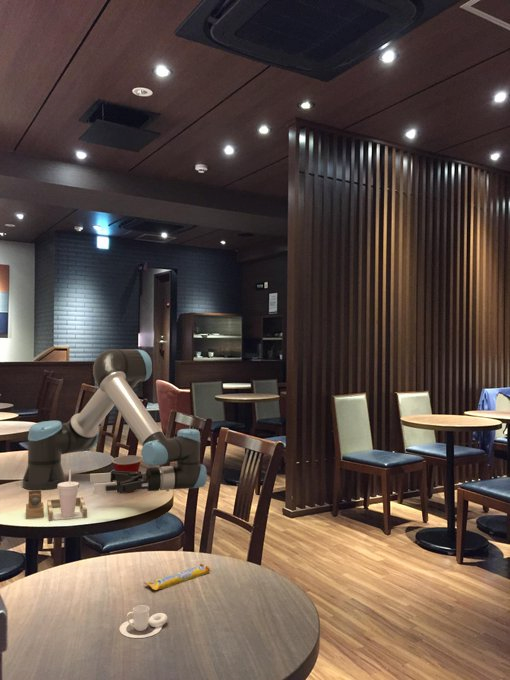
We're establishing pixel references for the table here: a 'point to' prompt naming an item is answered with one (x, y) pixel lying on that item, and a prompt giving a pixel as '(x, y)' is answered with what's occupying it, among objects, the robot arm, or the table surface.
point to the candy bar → (178, 577)
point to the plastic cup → (127, 464)
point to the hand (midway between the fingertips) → (91, 483)
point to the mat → (59, 517)
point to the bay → (56, 503)
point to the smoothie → (68, 497)
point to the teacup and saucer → (143, 621)
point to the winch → (34, 505)
